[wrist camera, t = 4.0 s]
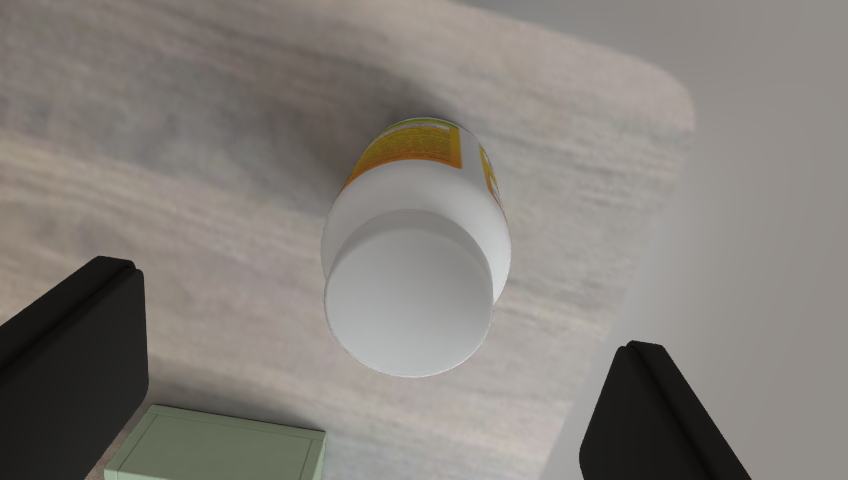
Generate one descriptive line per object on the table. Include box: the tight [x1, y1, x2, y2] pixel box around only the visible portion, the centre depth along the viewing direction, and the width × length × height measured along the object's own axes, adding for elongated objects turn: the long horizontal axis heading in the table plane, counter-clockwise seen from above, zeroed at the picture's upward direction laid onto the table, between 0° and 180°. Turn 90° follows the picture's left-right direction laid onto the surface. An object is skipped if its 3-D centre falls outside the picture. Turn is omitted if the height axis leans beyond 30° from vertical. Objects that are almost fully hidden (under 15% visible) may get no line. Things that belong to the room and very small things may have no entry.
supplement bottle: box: [321, 117, 511, 377], centre depth 17 cm, size 5×5×10 cm
